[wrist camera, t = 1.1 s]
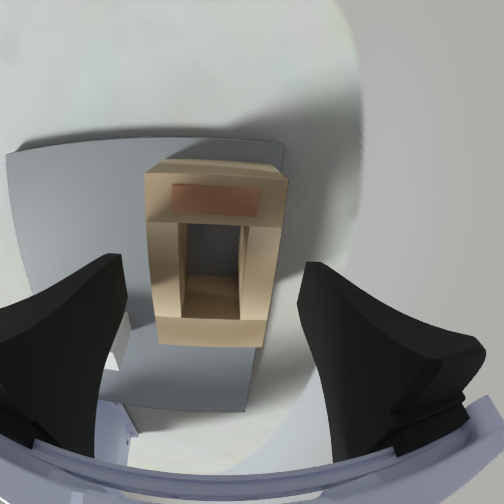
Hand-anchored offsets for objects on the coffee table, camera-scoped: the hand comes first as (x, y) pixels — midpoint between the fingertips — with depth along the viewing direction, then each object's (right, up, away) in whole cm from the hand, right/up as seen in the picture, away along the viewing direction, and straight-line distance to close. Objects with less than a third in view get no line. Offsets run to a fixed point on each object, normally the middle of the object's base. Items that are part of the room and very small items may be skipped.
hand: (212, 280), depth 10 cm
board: (-6, -3, +6) cm, 9 cm away
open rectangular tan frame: (0, +2, +4) cm, 4 cm away
